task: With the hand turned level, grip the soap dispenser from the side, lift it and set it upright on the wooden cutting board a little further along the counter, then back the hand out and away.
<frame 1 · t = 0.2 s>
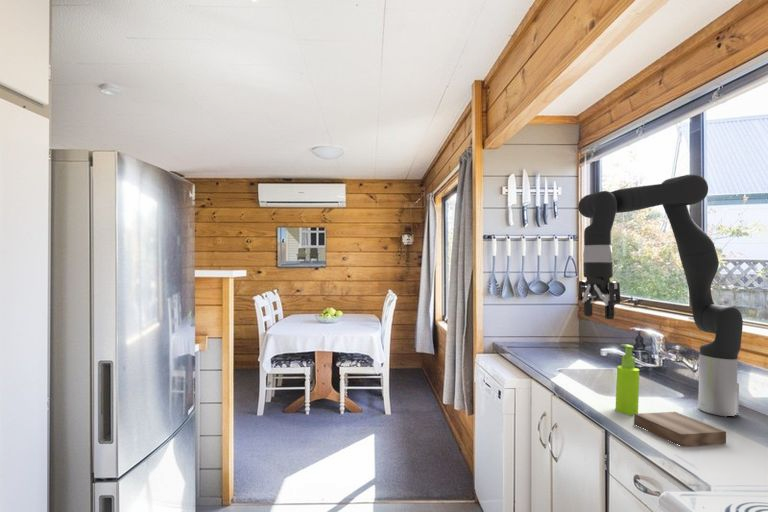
hand: (598, 317, 119), 29 cm above the worktop, tool pointing down, fingers open, 8 cm apart
soap dispenser: (625, 411, 125), on the worktop
wooden cutting board: (677, 433, 109), on the worktop
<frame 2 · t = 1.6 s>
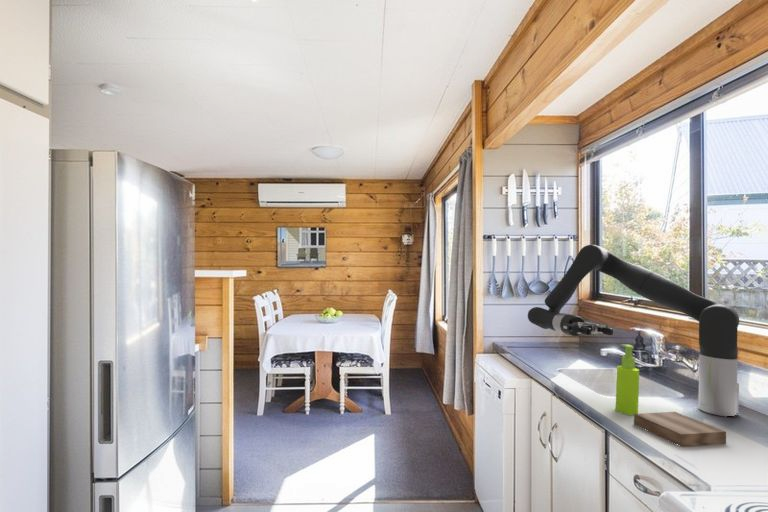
hand: (601, 332, 136), 22 cm above the worktop, tool horizontal, fingers open, 8 cm apart
nothing on the worktop moved.
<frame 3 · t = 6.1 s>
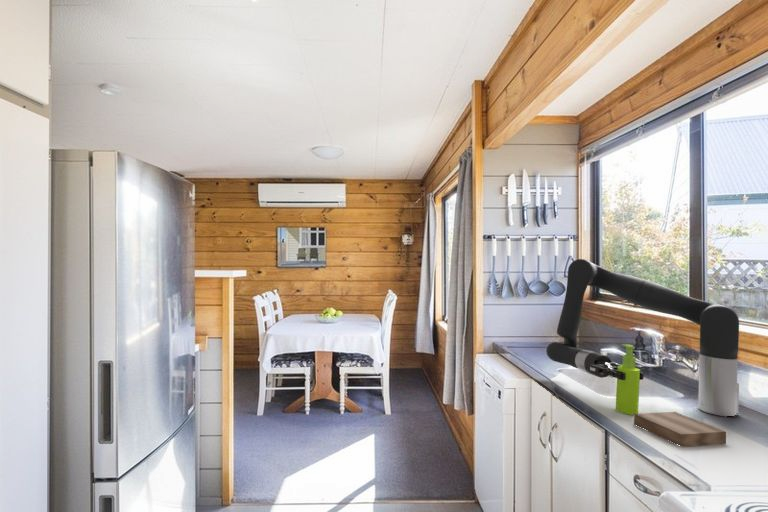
hand: (633, 376, 123), 11 cm above the worktop, tool horizontal, fingers closed on soap dispenser, 6 cm apart
soap dispenser: (625, 411, 125), on the worktop, touching gripper
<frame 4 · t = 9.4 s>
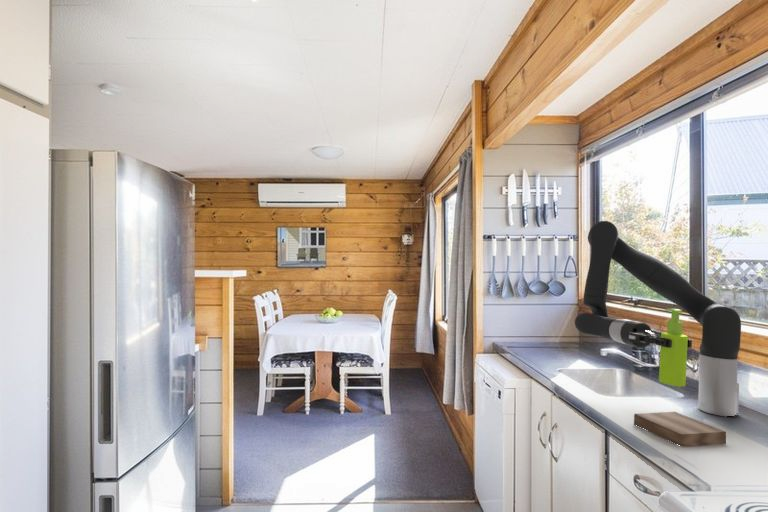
hand: (680, 343, 109), 24 cm above the worktop, tool horizontal, fingers closed on soap dispenser, 6 cm apart
soap dispenser: (671, 383, 111), point 13 cm above the worktop, touching gripper
when the fingers open (15 cm above the worktop, at t = 12.6 s): soap dispenser drops 1 cm, resting on wooden cutting board.
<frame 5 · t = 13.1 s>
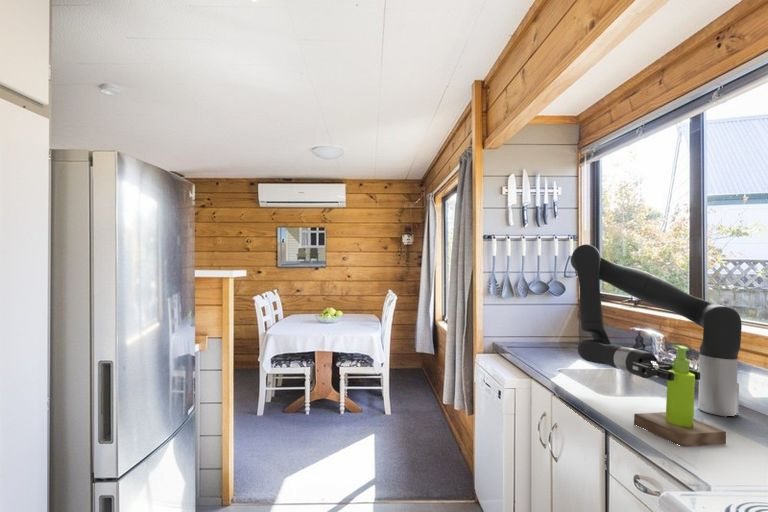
hand: (686, 376, 107), 16 cm above the worktop, tool horizontal, fingers open, 8 cm apart
soap dispenser: (678, 422, 109), point 3 cm above the worktop, touching wooden cutting board
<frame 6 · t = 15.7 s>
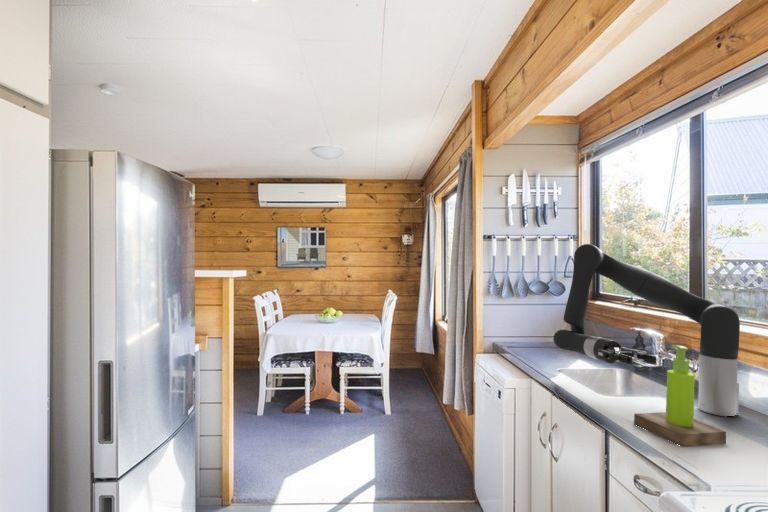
hand: (643, 360, 121), 17 cm above the worktop, tool horizontal, fingers open, 8 cm apart
nothing on the worktop moved.
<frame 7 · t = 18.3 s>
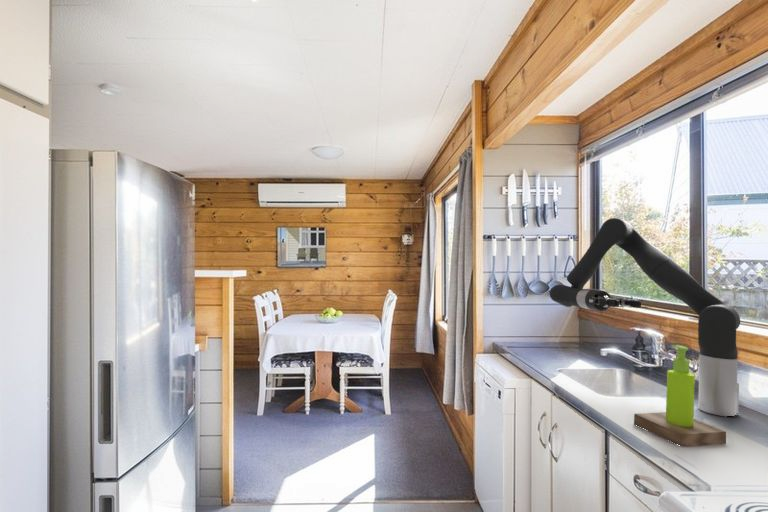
hand: (629, 304, 133), 32 cm above the worktop, tool horizontal, fingers open, 8 cm apart
nothing on the worktop moved.
at the end: soap dispenser inside the target area on the wooden cutting board (0.4 cm from its centre), point 2.8 cm above the wooden cutting board's base; soap dispenser tilted 0°; the gripper is holding nothing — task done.
